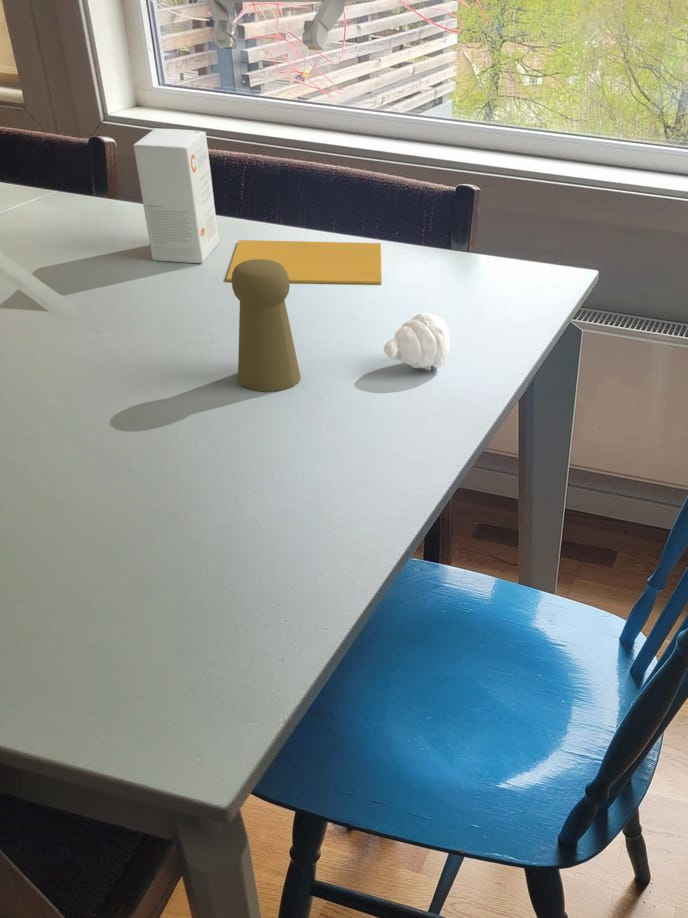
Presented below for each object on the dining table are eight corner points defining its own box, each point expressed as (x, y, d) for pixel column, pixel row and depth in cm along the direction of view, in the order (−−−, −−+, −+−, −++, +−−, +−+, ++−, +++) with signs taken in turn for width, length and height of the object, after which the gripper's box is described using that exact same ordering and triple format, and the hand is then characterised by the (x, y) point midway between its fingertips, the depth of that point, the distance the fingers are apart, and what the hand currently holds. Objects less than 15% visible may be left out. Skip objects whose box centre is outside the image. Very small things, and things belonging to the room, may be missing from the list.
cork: (226, 374, 97) (212, 259, 90) (280, 359, 100) (270, 248, 93) (258, 397, 93) (246, 279, 86) (312, 381, 96) (305, 266, 89)
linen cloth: (226, 281, 116) (226, 278, 116) (238, 242, 127) (238, 239, 126) (381, 284, 117) (381, 281, 117) (380, 245, 128) (380, 243, 128)
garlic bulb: (373, 366, 100) (372, 312, 96) (424, 354, 102) (425, 302, 99) (400, 387, 96) (400, 332, 93) (452, 375, 99) (454, 321, 96)
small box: (170, 239, 126) (154, 126, 118) (220, 243, 126) (207, 130, 118) (150, 261, 120) (131, 143, 112) (202, 264, 120) (187, 147, 111)
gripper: (173, -134, 89) (151, 26, 90) (377, -146, 82) (350, 27, 84) (214, -88, 95) (192, 62, 96) (407, -95, 88) (382, 65, 90)
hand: (267, 46), depth 90 cm, fingers open, 8 cm apart
